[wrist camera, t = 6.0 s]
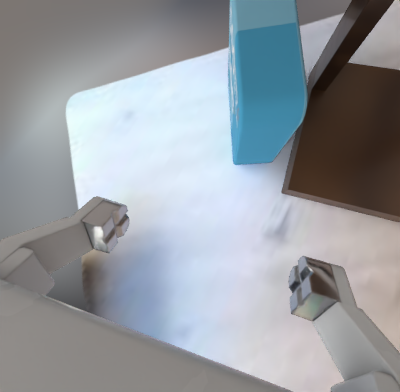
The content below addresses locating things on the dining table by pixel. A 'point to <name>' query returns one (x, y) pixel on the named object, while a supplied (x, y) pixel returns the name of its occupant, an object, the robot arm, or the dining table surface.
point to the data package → (264, 78)
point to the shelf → (350, 125)
